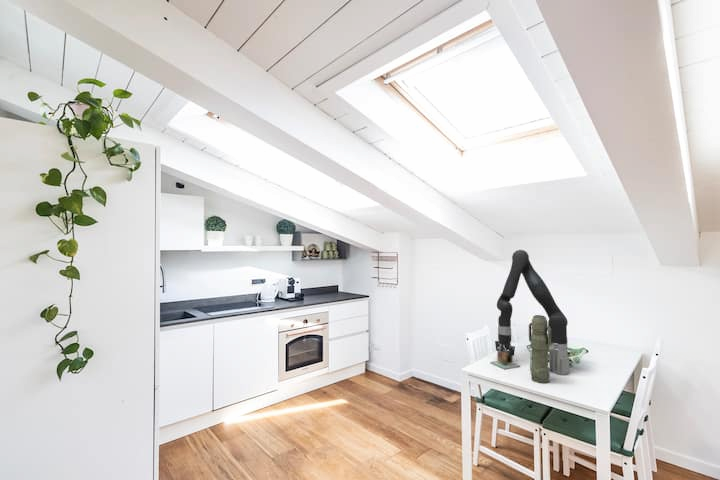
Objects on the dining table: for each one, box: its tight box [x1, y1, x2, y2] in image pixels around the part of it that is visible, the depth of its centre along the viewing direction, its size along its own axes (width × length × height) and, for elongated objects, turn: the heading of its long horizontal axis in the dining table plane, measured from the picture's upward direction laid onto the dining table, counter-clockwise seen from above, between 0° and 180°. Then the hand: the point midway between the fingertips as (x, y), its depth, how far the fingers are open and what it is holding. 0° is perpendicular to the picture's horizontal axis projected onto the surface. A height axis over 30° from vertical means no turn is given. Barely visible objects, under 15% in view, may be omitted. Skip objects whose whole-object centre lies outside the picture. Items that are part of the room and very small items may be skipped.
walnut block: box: [496, 350, 514, 364], centre depth 211 cm, size 6×6×6 cm
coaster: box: [489, 360, 521, 371], centre depth 211 cm, size 12×12×1 cm
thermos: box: [528, 314, 551, 384], centre depth 188 cm, size 9×12×35 cm
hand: (504, 360), depth 211 cm, fingers closed on walnut block, 6 cm apart
